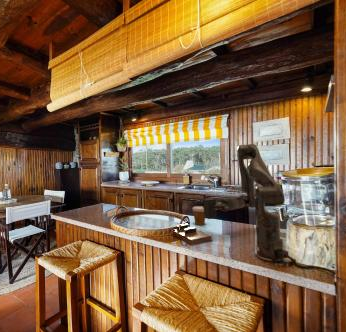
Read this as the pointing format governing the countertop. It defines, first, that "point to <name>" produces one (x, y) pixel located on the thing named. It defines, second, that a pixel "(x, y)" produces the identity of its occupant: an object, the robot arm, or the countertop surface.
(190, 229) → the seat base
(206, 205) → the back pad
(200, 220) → the disposable coffee cup
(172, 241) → the countertop surface
